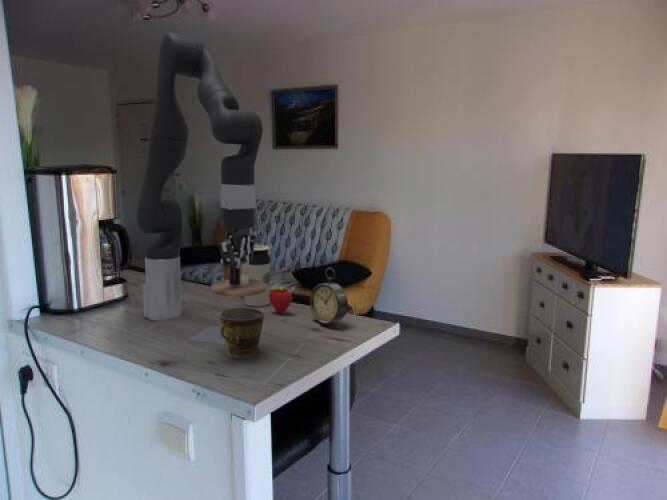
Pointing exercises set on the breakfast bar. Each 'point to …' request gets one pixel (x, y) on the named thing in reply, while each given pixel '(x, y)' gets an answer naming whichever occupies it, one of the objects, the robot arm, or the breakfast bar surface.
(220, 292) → the lid
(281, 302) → the strawberry
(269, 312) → the breakfast bar surface
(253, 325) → the ceramic cup
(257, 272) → the travel mug
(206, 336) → the mat
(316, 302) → the alarm clock
